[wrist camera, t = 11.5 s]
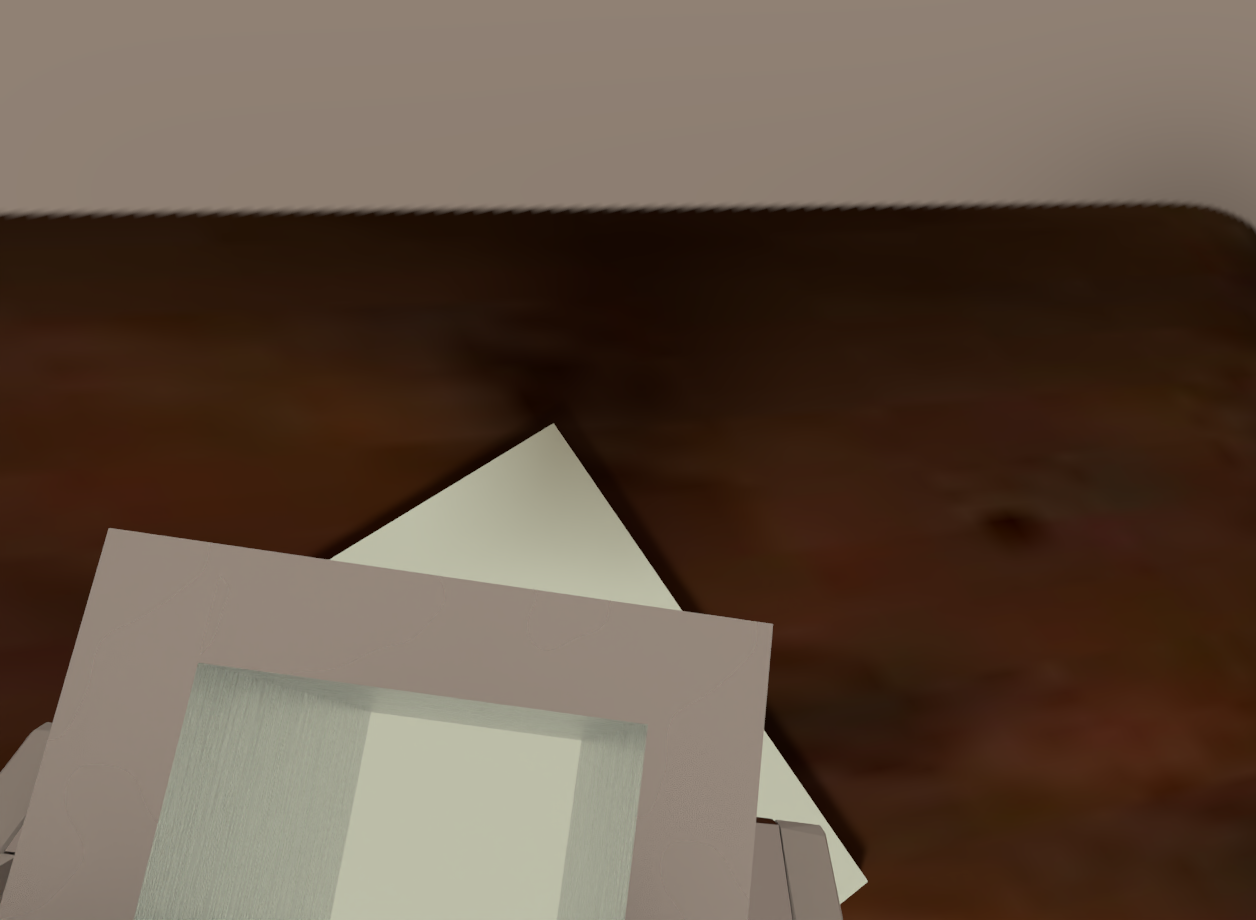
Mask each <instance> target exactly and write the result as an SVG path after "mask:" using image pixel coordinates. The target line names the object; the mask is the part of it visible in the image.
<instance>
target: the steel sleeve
mask: <svg viewBox="0 0 1256 920" xmlns="http://www.w3.org/2000/svg"><path fill="white" fill-rule="evenodd" d="M772 630H773V624H769V623H762V622H755V621H748V620H741V619H735V618H728V617H721V616H714V615H707V614H700V613H693V612H686V611H679V610H672V609H665V608H659V607H652V606H645V605H638V604H631V603H624V602H617V601H610V600H603V599H596V598H589V597H582V596H576V595H569V594H562V593H555V592H548V591H541V590H534V589H527V588H520V587H513V586H506V585H500V584H493V583H486V582H479V581H472V580H465V579H458V578H451V577H444V576H437V575H430V574H423V573H417V572H410V571H403V570H396V569H389V568H382V567H375V566H368V565H361V564H354V563H347V562H341V561H334V560H327V559H320V558H313V557H306V556H299V555H292V554H285V553H278V552H271V551H264V550H258V549H251V548H244V547H237V546H230V545H223V544H216V543H209V542H202V541H195V540H188V539H181V538H175V537H168V536H161V535H154V534H147V533H140V532H133V531H126V530H119V529H112V528H109V529H108V533H107V536H106V540H105V543H104V547H103V550H102V553H101V557H100V560H99V564H98V567H97V571H96V574H95V578H94V581H93V585H92V588H91V592H90V595H89V599H88V602H87V605H86V609H85V612H84V616H83V619H82V623H81V626H80V630H79V633H78V637H77V640H76V644H75V647H74V651H73V654H72V657H71V661H70V664H69V668H68V671H67V675H66V678H65V682H64V685H63V689H62V692H61V696H60V699H59V703H58V706H57V709H56V713H55V716H54V720H53V723H52V727H51V730H50V734H49V737H48V741H47V744H46V748H45V751H44V755H43V758H42V761H41V765H40V768H39V772H38V775H37V779H36V782H35V786H34V789H33V793H32V796H31V800H30V803H29V807H28V810H27V813H26V817H25V820H24V824H23V827H22V831H21V834H20V838H19V841H18V845H17V848H16V852H15V855H14V859H13V862H12V866H11V869H10V872H9V876H8V879H7V883H6V886H5V890H4V893H3V897H2V900H1V904H0V920H330V918H331V913H332V908H333V903H334V898H335V893H336V888H337V883H338V878H339V873H340V868H341V863H342V858H343V853H344V848H345V843H346V837H347V832H348V827H349V822H350V817H351V812H352V807H353V802H354V797H355V792H356V787H357V782H358V777H359V772H360V767H361V762H362V757H363V752H364V747H365V742H366V737H367V732H368V726H369V721H370V716H371V712H374V713H382V714H389V715H397V716H404V717H411V718H419V719H426V720H433V721H441V722H448V723H455V724H463V725H470V726H477V727H485V728H492V729H500V730H507V731H514V732H522V733H529V734H536V735H544V736H551V737H558V738H566V739H573V740H580V741H581V747H580V754H579V761H578V769H577V776H576V783H575V791H574V798H573V805H572V812H571V820H570V827H569V834H568V842H567V849H566V856H565V864H564V871H563V878H562V885H561V893H560V900H559V907H558V915H557V920H748V910H749V898H750V887H751V875H752V863H753V851H754V840H755V828H756V816H757V805H758V793H759V781H760V770H761V758H762V746H763V735H764V723H765V711H766V700H767V688H768V676H769V665H770V653H771V641H772Z"/></svg>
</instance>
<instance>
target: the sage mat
mask: <svg viewBox="0 0 1256 920" xmlns="http://www.w3.org/2000/svg"><path fill="white" fill-rule="evenodd" d="M329 560H334V561H341V562H347V563H354V564H361V565H368V566H375V567H382V568H389V569H396V570H403V571H410V572H417V573H423V574H430V575H437V576H444V577H451V578H458V579H465V580H472V581H479V582H486V583H493V584H500V585H506V586H513V587H520V588H527V589H534V590H541V591H548V592H555V593H562V594H569V595H576V596H582V597H589V598H596V599H603V600H610V601H617V602H624V603H631V604H638V605H645V606H652V607H659V608H665V609H672V610H679V611H682V610H681V608H680V607H679V605H678V604H677V602H676V601H675V600H674V598H673V597H672V595H671V594H670V592H669V591H668V589H667V588H666V586H665V585H664V583H663V582H662V581H661V579H660V578H659V576H658V575H657V573H656V572H655V570H654V569H653V567H652V566H651V565H650V563H649V562H648V560H647V559H646V557H645V556H644V554H643V553H642V551H641V550H640V549H639V547H638V546H637V544H636V543H635V541H634V540H633V538H632V537H631V535H630V534H629V532H628V531H627V530H626V528H625V527H624V525H623V524H622V522H621V521H620V519H619V518H618V516H617V515H616V514H615V512H614V511H613V509H612V508H611V506H610V505H609V503H608V502H607V500H606V499H605V497H604V496H603V495H602V493H601V492H600V490H599V489H598V487H597V486H596V484H595V483H594V481H593V480H592V479H591V477H590V476H589V474H588V473H587V471H586V470H585V468H584V467H583V465H582V464H581V463H580V461H579V460H578V458H577V457H576V455H575V454H574V452H573V451H572V449H571V448H570V446H569V445H568V444H567V442H566V441H565V439H564V438H563V436H562V435H561V433H560V432H559V430H558V429H557V428H556V426H555V425H554V423H553V424H551V425H550V426H548V427H546V428H545V429H543V430H541V431H540V432H538V433H537V434H535V435H533V436H532V437H530V438H528V439H527V440H525V441H523V442H522V443H520V444H518V445H517V446H515V447H514V448H512V449H510V450H509V451H507V452H505V453H504V454H502V455H500V456H499V457H497V458H495V459H494V460H492V461H491V462H489V463H487V464H486V465H484V466H482V467H481V468H479V469H477V470H476V471H474V472H472V473H471V474H469V475H468V476H466V477H464V478H463V479H461V480H459V481H458V482H456V483H454V484H453V485H451V486H449V487H448V488H446V489H445V490H443V491H441V492H440V493H438V494H436V495H435V496H433V497H431V498H430V499H428V500H426V501H425V502H423V503H422V504H420V505H418V506H417V507H415V508H413V509H412V510H410V511H408V512H407V513H405V514H403V515H402V516H400V517H398V518H397V519H395V520H394V521H392V522H390V523H389V524H387V525H385V526H384V527H382V528H380V529H379V530H377V531H375V532H374V533H372V534H371V535H369V536H367V537H366V538H364V539H362V540H361V541H359V542H357V543H356V544H354V545H352V546H351V547H349V548H348V549H346V550H344V551H343V552H341V553H339V554H338V555H336V556H334V557H333V558H331V559H329ZM580 747H581V741H580V740H573V739H566V738H558V737H551V736H544V735H536V734H529V733H522V732H514V731H507V730H500V729H492V728H485V727H477V726H470V725H463V724H455V723H448V722H441V721H433V720H426V719H419V718H411V717H404V716H397V715H389V714H382V713H374V712H371V716H370V721H369V726H368V732H367V737H366V742H365V747H364V752H363V757H362V762H361V767H360V772H359V777H358V782H357V787H356V792H355V797H354V802H353V807H352V812H351V817H350V822H349V827H348V832H347V837H346V843H345V848H344V853H343V858H342V863H341V868H340V873H339V878H338V883H337V888H336V893H335V898H334V903H333V908H332V913H331V918H330V920H557V915H558V907H559V900H560V893H561V885H562V878H563V871H564V864H565V856H566V849H567V842H568V834H569V827H570V820H571V812H572V805H573V798H574V791H575V783H576V776H577V769H578V761H579V754H580ZM756 817H761V818H769V819H773V820H774V821H775V820H783V821H791V822H799V823H807V824H815V825H820V826H821V827H822V829H823V830H824V832H825V833H826V838H827V843H828V848H829V853H830V858H831V863H832V868H833V872H834V877H835V882H836V887H837V892H838V897H839V902H840V904H841V903H842V902H843V901H845V900H846V899H847V898H848V897H850V896H851V895H852V894H853V893H854V892H856V891H857V890H858V889H859V888H861V887H862V886H863V885H864V884H865V883H867V882H868V881H867V879H866V878H865V876H864V875H863V873H862V872H861V871H860V869H859V868H858V866H857V865H856V863H855V862H854V860H853V859H852V857H851V856H850V855H849V853H848V852H847V850H846V849H845V847H844V846H843V844H842V843H841V841H840V840H839V838H838V837H837V836H836V834H835V833H834V831H833V830H832V828H831V827H830V825H829V824H828V822H827V821H826V820H825V818H824V817H823V815H822V814H821V812H820V811H819V809H818V808H817V806H816V805H815V804H814V802H813V801H812V799H811V798H810V796H809V795H808V793H807V792H806V790H805V789H804V787H803V786H802V785H801V783H800V782H799V780H798V779H797V777H796V776H795V774H794V773H793V771H792V770H791V769H790V767H789V766H788V764H787V763H786V761H785V760H784V758H783V757H782V755H781V754H780V753H779V751H778V750H777V748H776V747H775V745H774V744H773V742H772V741H771V739H770V738H769V736H768V735H767V734H766V732H765V731H764V735H763V746H762V758H761V770H760V781H759V793H758V805H757V816H756Z"/></svg>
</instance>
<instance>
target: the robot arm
mask: <svg viewBox="0 0 1256 920" xmlns="http://www.w3.org/2000/svg"><path fill="white" fill-rule="evenodd" d="M51 727H52V723H49V722H46V723H45V724H43V725H42V726H40V727H39V728H37V729H36V730H34V731H33V732H31V733H30V735H29V736H28V737H27V739H26V740H25V741H24V743H23V744H22V745H21V746H20V748H19V749H18V750H17V752H16V753H15V754H14V756H13V757H12V758H11V759H10V761H9V762H8V763H7V765H6V766H5V767H4V769H3V770H2V771H1V772H0V904H1V900H2V897H3V893H4V890H5V886H6V883H7V879H8V876H9V872H10V869H11V866H12V862H13V859H14V855H15V852H16V848H17V845H18V841H19V838H20V834H21V831H22V827H23V824H24V820H25V817H26V813H27V810H28V807H29V803H30V800H31V796H32V793H33V789H34V786H35V782H36V779H37V775H38V772H39V768H40V765H41V761H42V758H43V755H44V751H45V748H46V744H47V741H48V737H49V734H50V730H51ZM748 920H843V917H842V912H841V907H840V902H839V897H838V892H837V887H836V882H835V877H834V872H833V868H832V863H831V858H830V853H829V848H828V843H827V838H826V833H825V832H824V830H823V829H822V827H821V826H820V825H815V824H807V823H799V822H791V821H783V820H775V821H774V820H773V819H769V818H761V817H756V828H755V840H754V851H753V863H752V875H751V887H750V898H749V910H748Z"/></svg>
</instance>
